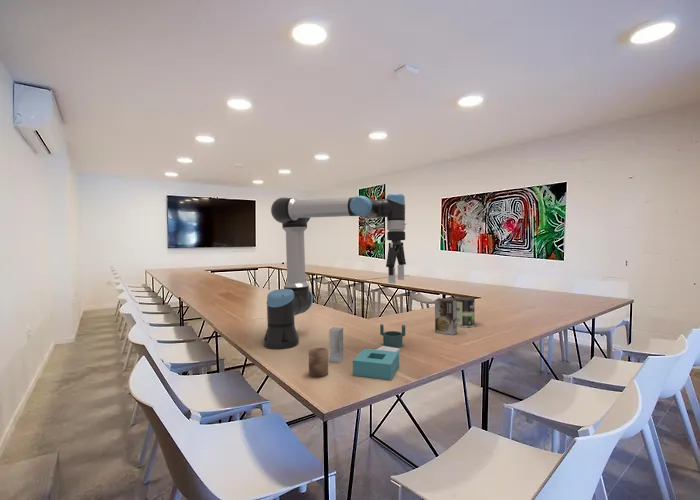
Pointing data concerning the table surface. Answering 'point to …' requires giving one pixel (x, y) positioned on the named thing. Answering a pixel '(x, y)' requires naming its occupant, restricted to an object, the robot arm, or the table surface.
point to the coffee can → (465, 311)
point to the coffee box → (445, 316)
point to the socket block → (376, 364)
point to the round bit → (318, 362)
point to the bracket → (392, 337)
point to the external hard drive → (388, 349)
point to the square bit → (336, 344)
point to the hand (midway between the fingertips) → (396, 281)
